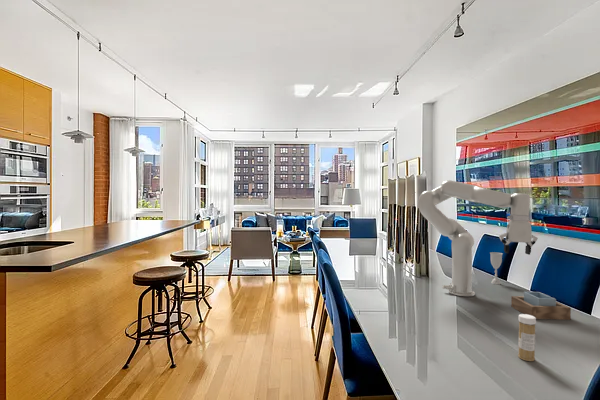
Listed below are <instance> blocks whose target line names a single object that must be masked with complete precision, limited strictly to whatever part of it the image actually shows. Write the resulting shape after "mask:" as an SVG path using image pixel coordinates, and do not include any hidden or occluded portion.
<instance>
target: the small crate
mask: <svg viewBox="0 0 600 400" xmlns="http://www.w3.org/2000/svg"><path fill="white" fill-rule="evenodd" d="M523 296H524V301H525V302H527V303H529V304H531V305H533V306H556V302H557V299H556V298H555V297H551V296H550V295H548V294H545V293H542V292H540V291H523Z"/></svg>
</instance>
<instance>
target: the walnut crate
mask: <svg viewBox="0 0 600 400" xmlns="http://www.w3.org/2000/svg"><path fill="white" fill-rule="evenodd" d="M510 298H511V302H510V303H511V305H510V306H511V308H512V307H513V308H512V309H514V310H516V311H518V312H520V313H521V314H528V315H532V316H534V317H535V318H536V320H537V319H538V320H539V319H540V320H564V321H565V320H566V321H567V320H572V319H571V313H572V312H571V311H572V310H571V308H572V307H570V306H568V305H565V304H563V303H560V302H559V301H556V306H533V305H531V304H529V303H527V302H525V301H524V295H521V296H520V295H519V296H517V295H511V297H510Z"/></svg>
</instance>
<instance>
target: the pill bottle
mask: <svg viewBox="0 0 600 400" xmlns="http://www.w3.org/2000/svg"><path fill="white" fill-rule="evenodd" d="M536 323H537V319H536V318H535V317H534V316H532V315H528V314H523V313H521V314H518V342H517V343H518V355H517V356H518V358H519V359H521V360H523V361H526V362H535V360H536V358H535V353H536V352H535V350H536Z"/></svg>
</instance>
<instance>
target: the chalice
mask: <svg viewBox="0 0 600 400" xmlns="http://www.w3.org/2000/svg"><path fill="white" fill-rule="evenodd" d="M489 254H490V264H491V266H492V267H493V269H494V273H495V274H494V278H493V279H492V280H491V282H490V283H491V284H493V285H501V282H500V280H499V279H498V269H499V268H500V266H501V265H502V263H503V259H502V258H503V254H504V253H502V252H495V251H494V252H493V251H492V252H489Z"/></svg>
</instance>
